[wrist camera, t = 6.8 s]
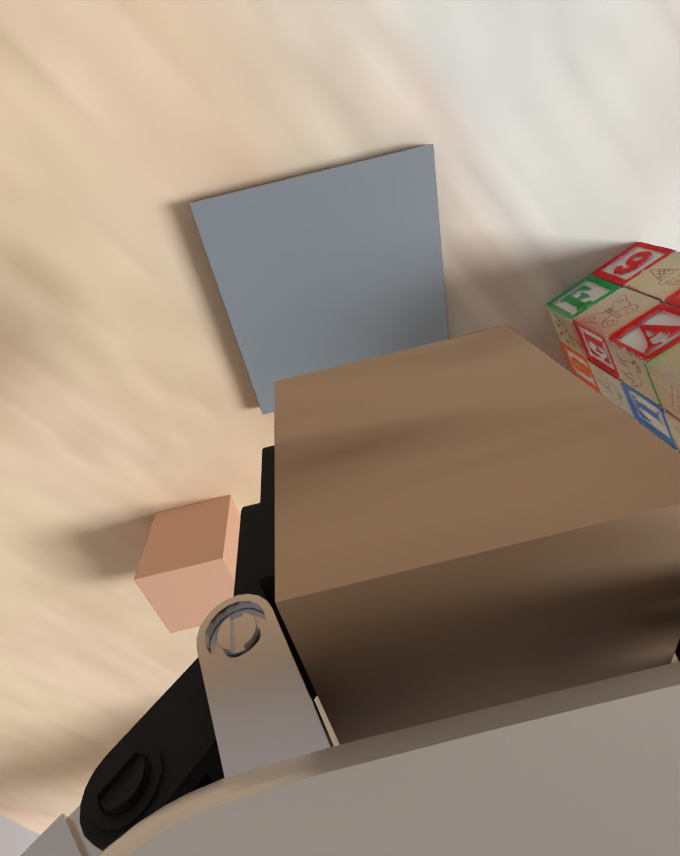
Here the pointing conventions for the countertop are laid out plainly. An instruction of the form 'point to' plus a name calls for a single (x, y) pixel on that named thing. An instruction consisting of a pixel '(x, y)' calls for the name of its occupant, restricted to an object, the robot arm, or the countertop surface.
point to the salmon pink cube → (190, 561)
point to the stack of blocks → (628, 335)
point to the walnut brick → (468, 532)
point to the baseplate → (329, 265)
